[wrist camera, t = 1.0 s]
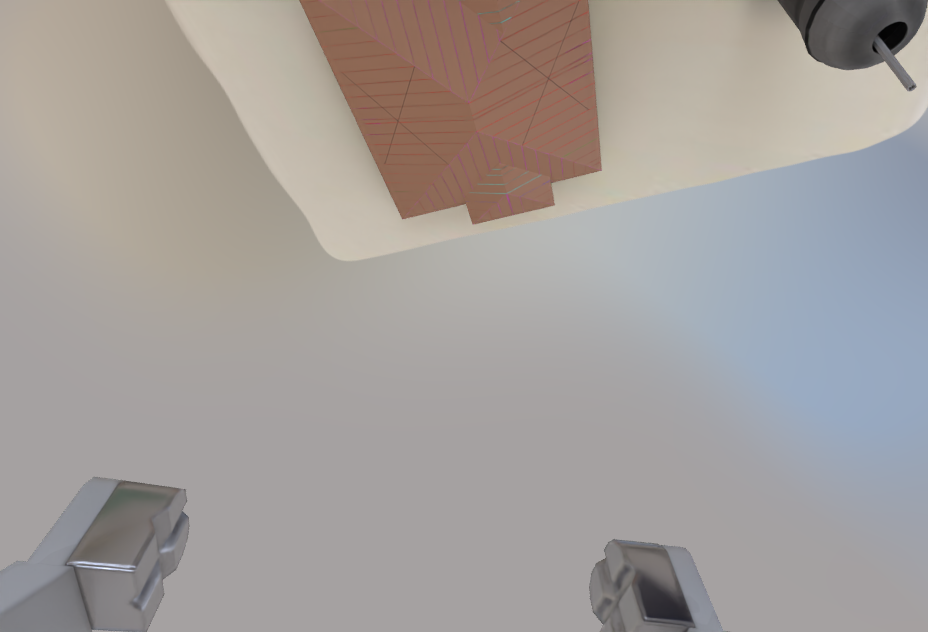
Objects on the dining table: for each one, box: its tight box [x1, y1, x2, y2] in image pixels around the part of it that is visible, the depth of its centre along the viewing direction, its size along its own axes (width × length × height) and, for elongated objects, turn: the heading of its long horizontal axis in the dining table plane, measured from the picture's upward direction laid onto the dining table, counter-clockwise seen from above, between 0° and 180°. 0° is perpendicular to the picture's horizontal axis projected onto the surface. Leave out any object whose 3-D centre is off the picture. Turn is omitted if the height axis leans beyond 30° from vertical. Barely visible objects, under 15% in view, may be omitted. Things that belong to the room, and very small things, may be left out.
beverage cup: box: [778, 0, 928, 91], centre depth 39 cm, size 7×7×20 cm
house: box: [300, 0, 602, 224], centre depth 49 cm, size 23×33×8 cm
